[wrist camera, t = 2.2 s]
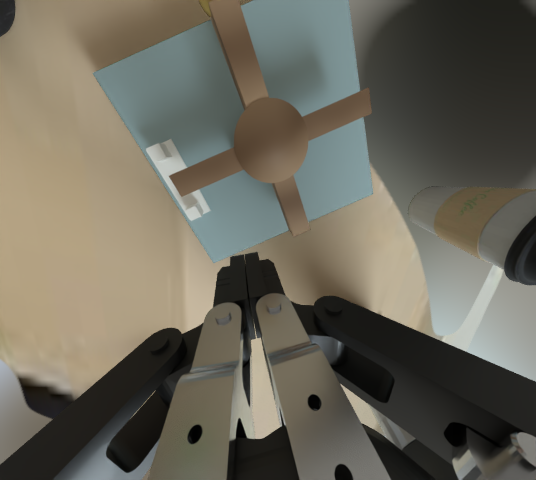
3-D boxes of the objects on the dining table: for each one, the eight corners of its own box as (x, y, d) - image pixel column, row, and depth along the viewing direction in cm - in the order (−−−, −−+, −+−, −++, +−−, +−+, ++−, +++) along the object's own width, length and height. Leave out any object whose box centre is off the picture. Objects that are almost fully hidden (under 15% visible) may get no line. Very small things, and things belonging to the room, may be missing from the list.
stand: (358, 189, 26) (384, 197, 22) (215, 252, 27) (212, 271, 22) (325, -20, 17) (357, -82, 13) (109, 78, 18) (66, 51, 13)
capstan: (354, 191, 23) (383, 199, 18) (226, 246, 23) (224, 269, 18) (313, -43, 14) (350, -133, 10) (112, 49, 15) (59, 2, 10)
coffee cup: (431, 161, 26) (638, 167, 13) (463, 195, 30) (656, 228, 16) (385, 217, 29) (517, 272, 15) (419, 243, 32) (553, 306, 19)
